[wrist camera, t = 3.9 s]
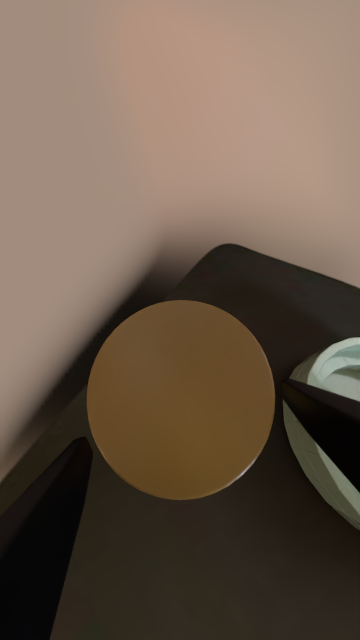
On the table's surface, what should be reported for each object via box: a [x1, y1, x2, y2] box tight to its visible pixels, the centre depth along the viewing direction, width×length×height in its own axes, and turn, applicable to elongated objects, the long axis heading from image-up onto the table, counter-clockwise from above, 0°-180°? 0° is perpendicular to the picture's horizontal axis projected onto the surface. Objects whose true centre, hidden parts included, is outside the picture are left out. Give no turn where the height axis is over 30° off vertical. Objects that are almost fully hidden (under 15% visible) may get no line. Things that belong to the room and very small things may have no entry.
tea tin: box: [87, 300, 275, 500], centre depth 11 cm, size 6×6×12 cm
